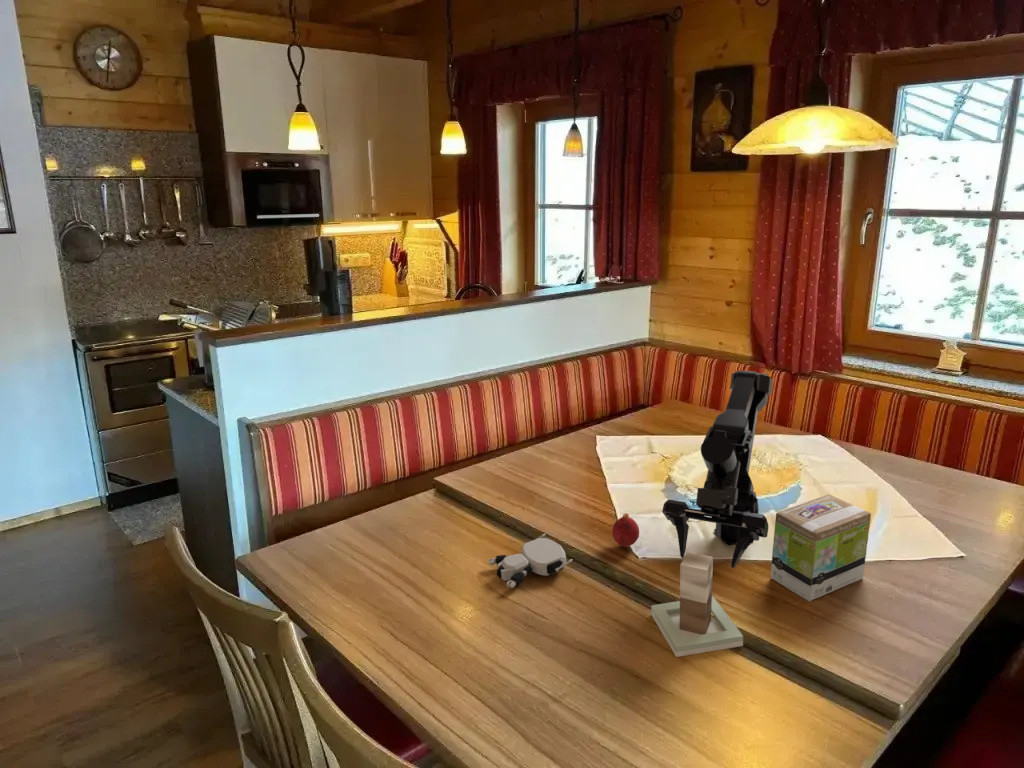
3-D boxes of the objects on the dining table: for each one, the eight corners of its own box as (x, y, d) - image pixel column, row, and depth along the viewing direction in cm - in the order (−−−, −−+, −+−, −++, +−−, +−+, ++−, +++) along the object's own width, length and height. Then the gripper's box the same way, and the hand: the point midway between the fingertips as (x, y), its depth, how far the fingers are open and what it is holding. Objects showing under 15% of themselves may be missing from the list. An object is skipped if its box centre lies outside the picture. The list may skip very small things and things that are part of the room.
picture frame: (712, 605, 132) (712, 595, 131) (742, 645, 121) (743, 636, 120) (651, 614, 130) (651, 605, 130) (676, 657, 119) (676, 647, 118)
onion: (638, 554, 150) (638, 521, 148) (611, 553, 151) (611, 520, 149) (639, 540, 156) (639, 508, 153) (613, 539, 157) (612, 507, 154)
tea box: (811, 604, 131) (816, 533, 126) (769, 578, 139) (773, 511, 135) (865, 579, 137) (872, 511, 133) (822, 556, 146) (827, 491, 141)
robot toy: (511, 601, 139) (577, 574, 144) (508, 581, 137) (574, 555, 143) (486, 571, 150) (549, 547, 155) (483, 552, 148) (546, 529, 153)
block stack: (686, 614, 128) (687, 551, 124) (711, 620, 126) (713, 556, 122) (679, 629, 124) (680, 564, 121) (705, 635, 122) (707, 570, 118)
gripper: (664, 461, 133) (647, 540, 128) (768, 475, 125) (754, 561, 119) (676, 481, 142) (660, 557, 136) (773, 495, 134) (761, 577, 128)
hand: (706, 562), depth 130 cm, fingers open, 9 cm apart
